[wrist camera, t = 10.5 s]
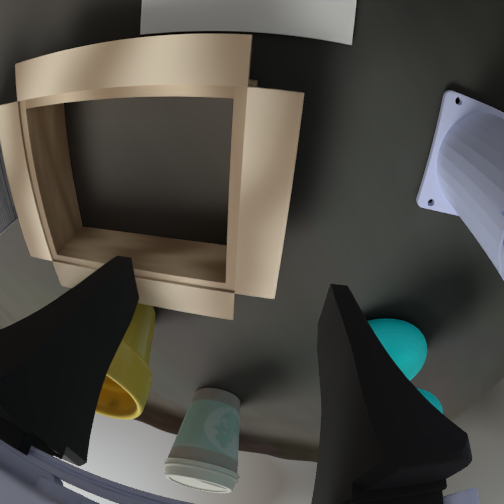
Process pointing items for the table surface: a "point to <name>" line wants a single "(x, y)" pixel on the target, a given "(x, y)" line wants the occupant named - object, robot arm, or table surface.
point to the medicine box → (5, 199)
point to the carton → (147, 246)
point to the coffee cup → (207, 443)
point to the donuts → (404, 348)
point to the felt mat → (253, 17)
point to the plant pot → (129, 369)
